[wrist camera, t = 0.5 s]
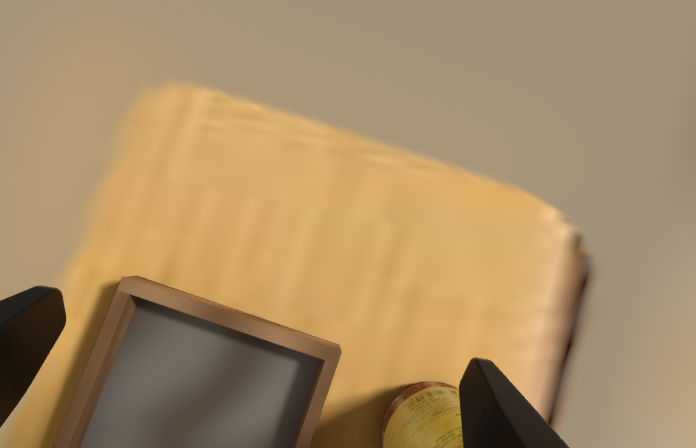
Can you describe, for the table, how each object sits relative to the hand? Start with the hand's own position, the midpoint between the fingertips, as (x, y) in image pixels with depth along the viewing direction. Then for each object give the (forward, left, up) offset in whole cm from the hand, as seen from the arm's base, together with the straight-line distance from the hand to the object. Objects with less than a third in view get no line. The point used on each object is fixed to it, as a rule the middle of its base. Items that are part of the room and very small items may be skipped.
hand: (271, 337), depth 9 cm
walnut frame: (-4, +8, -16) cm, 18 cm away
